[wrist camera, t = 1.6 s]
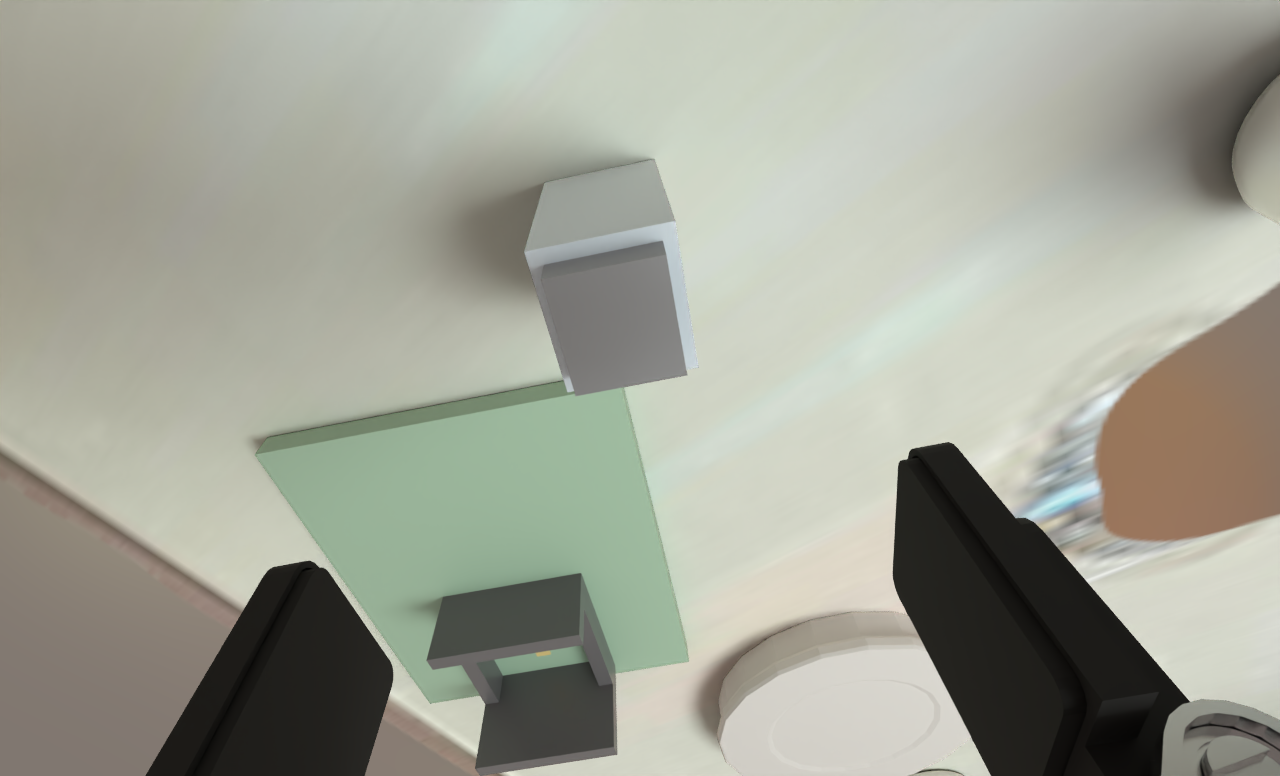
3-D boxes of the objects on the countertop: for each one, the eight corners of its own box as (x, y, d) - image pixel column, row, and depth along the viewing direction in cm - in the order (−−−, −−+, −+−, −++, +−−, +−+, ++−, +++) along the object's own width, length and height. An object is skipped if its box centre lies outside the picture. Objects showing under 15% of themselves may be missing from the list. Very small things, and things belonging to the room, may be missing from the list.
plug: (544, 182, 22) (519, 266, 15) (654, 158, 21) (679, 233, 15) (578, 306, 24) (570, 425, 18) (676, 287, 24) (705, 399, 17)
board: (267, 437, 27) (254, 454, 26) (619, 370, 26) (620, 385, 25) (434, 684, 38) (430, 703, 37) (686, 643, 37) (688, 661, 36)
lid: (818, 784, 49) (830, 827, 46) (658, 686, 40) (662, 733, 37) (1023, 697, 43) (1049, 740, 41) (890, 561, 34) (913, 605, 32)
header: (442, 596, 31) (418, 688, 27) (581, 573, 31) (578, 662, 27) (494, 685, 36) (480, 775, 32) (615, 665, 36) (617, 754, 31)
